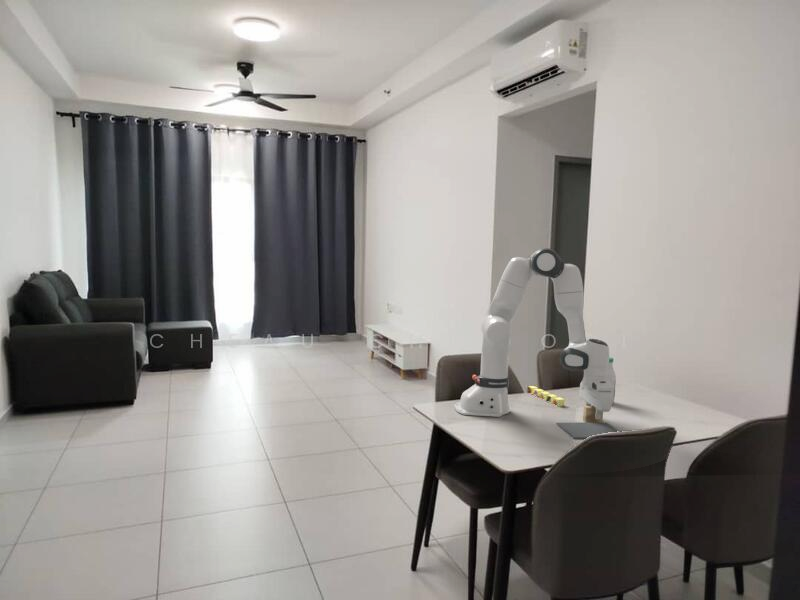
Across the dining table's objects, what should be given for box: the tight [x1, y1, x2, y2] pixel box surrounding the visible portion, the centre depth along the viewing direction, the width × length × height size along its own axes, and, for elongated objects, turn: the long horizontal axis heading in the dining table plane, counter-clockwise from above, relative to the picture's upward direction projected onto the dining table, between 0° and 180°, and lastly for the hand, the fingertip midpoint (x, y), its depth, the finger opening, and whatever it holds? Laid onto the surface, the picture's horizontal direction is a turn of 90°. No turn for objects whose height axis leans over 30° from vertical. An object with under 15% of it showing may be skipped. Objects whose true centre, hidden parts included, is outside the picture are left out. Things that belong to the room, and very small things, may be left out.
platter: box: [526, 385, 565, 407], centre depth 242 cm, size 32×32×3 cm
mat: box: [555, 421, 619, 440], centre depth 202 cm, size 20×16×1 cm
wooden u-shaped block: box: [582, 405, 604, 422], centre depth 213 cm, size 7×2×6 cm, turn 96°
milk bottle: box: [607, 356, 617, 405], centre depth 240 cm, size 8×8×20 cm
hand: (593, 416), depth 213 cm, fingers open, 5 cm apart
